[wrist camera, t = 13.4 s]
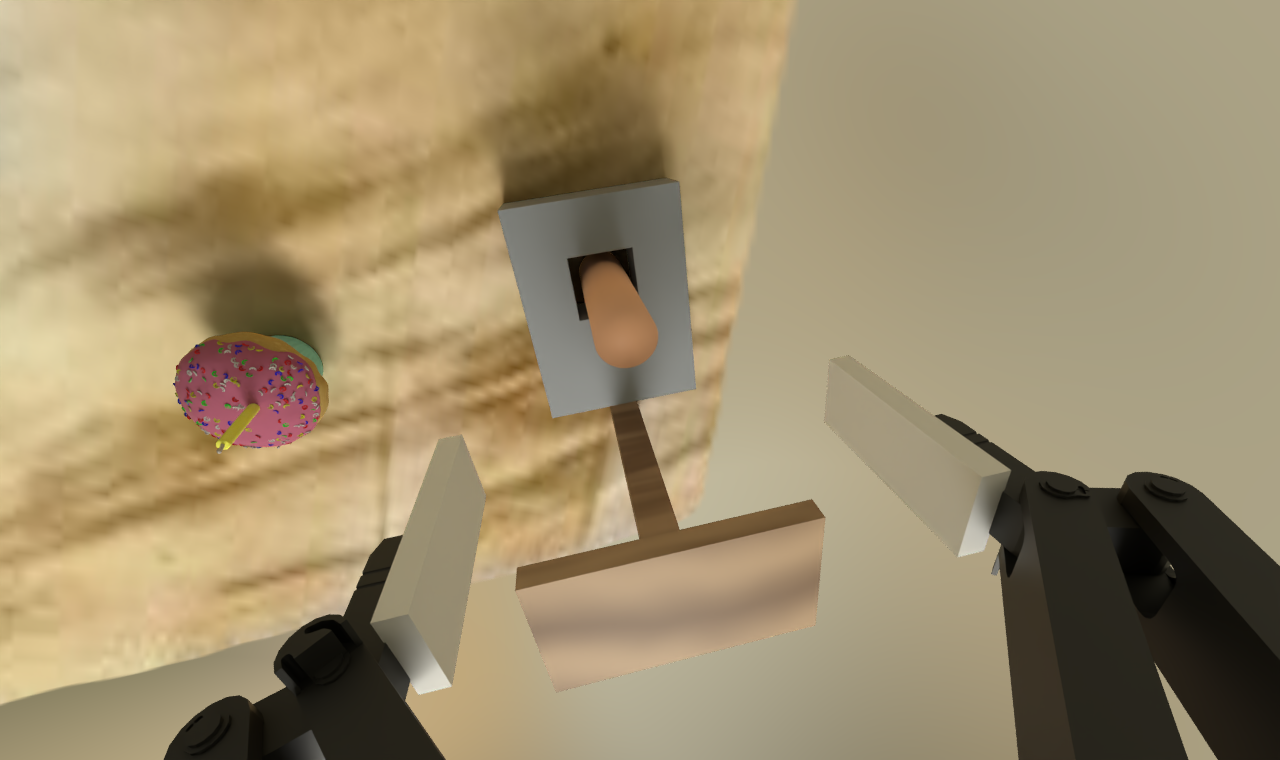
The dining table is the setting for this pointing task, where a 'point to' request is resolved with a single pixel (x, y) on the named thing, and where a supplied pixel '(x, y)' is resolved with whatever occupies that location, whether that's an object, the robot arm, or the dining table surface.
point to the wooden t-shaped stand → (671, 581)
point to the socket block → (562, 326)
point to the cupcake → (252, 389)
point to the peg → (616, 313)
